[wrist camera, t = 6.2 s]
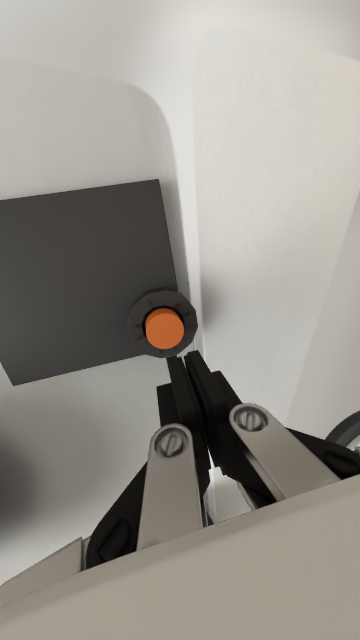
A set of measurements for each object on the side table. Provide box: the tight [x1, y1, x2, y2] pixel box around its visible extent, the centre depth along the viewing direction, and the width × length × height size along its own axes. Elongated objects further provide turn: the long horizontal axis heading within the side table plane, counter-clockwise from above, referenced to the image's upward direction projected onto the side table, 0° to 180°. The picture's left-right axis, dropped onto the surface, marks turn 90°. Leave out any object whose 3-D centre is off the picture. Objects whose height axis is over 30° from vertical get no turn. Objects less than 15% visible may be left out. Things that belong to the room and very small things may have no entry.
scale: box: [0, 179, 198, 386], centre depth 17 cm, size 17×14×3 cm
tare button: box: [145, 308, 184, 349], centre depth 17 cm, size 3×3×2 cm
